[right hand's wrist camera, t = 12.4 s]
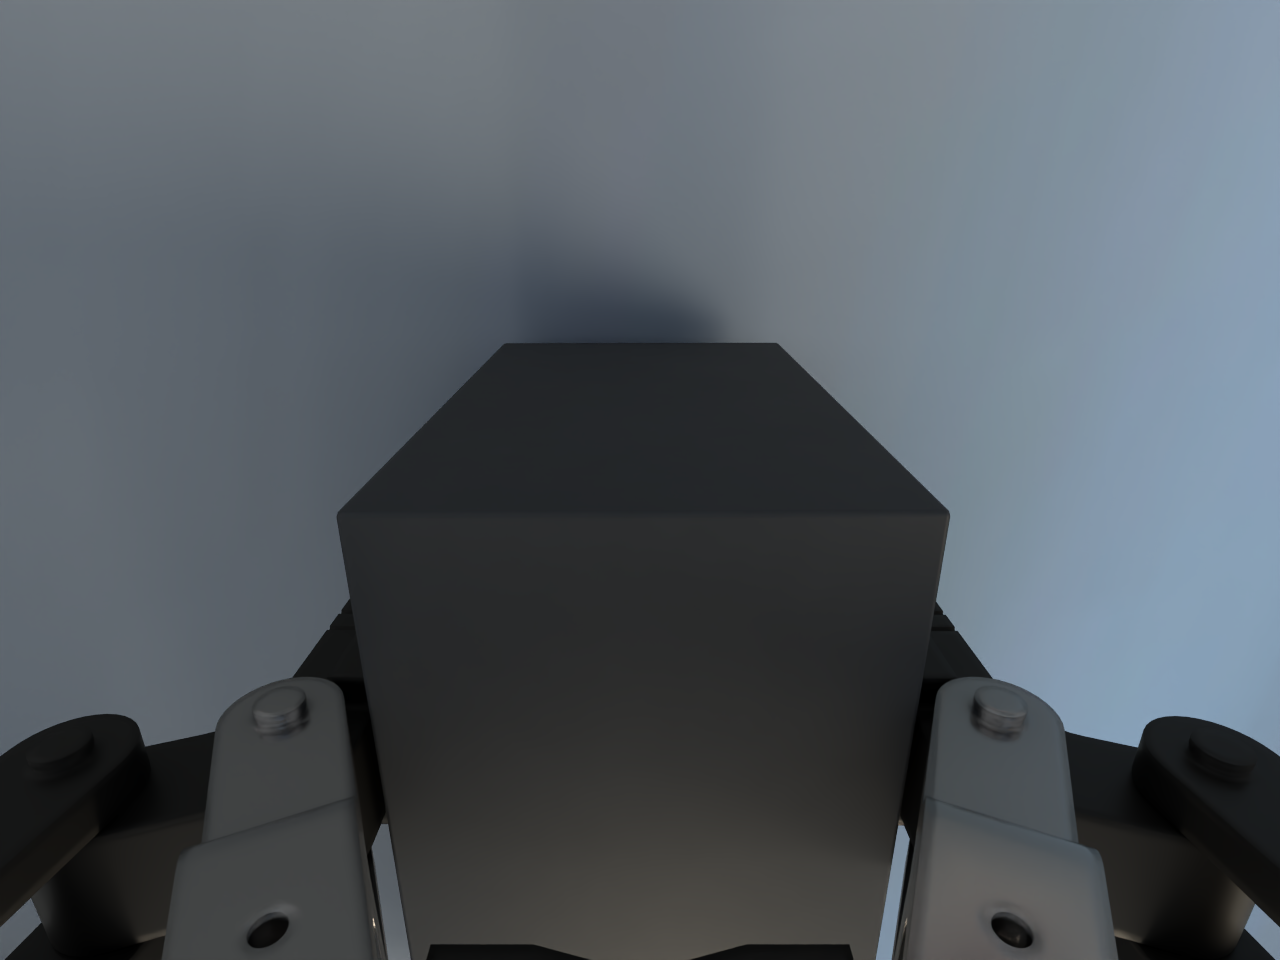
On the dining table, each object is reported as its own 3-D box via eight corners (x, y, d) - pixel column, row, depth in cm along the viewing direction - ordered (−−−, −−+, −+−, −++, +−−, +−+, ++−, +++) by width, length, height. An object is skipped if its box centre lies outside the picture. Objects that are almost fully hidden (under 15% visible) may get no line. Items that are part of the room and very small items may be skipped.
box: (503, 343, 15) (332, 512, 7) (778, 342, 15) (953, 511, 7) (551, 1022, 23) (500, 1496, 15) (732, 1022, 23) (786, 1495, 15)
